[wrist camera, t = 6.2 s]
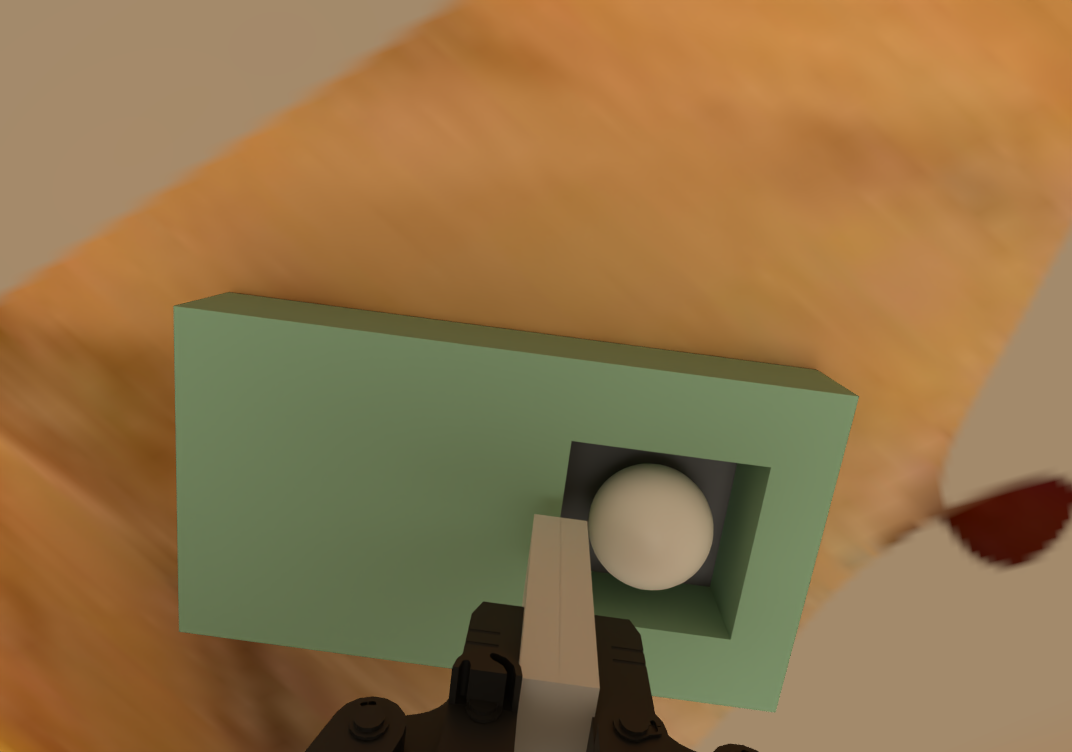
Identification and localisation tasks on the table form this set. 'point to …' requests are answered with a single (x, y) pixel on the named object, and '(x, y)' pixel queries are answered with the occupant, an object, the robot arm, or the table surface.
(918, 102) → the table surface
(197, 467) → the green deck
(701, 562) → the ball
